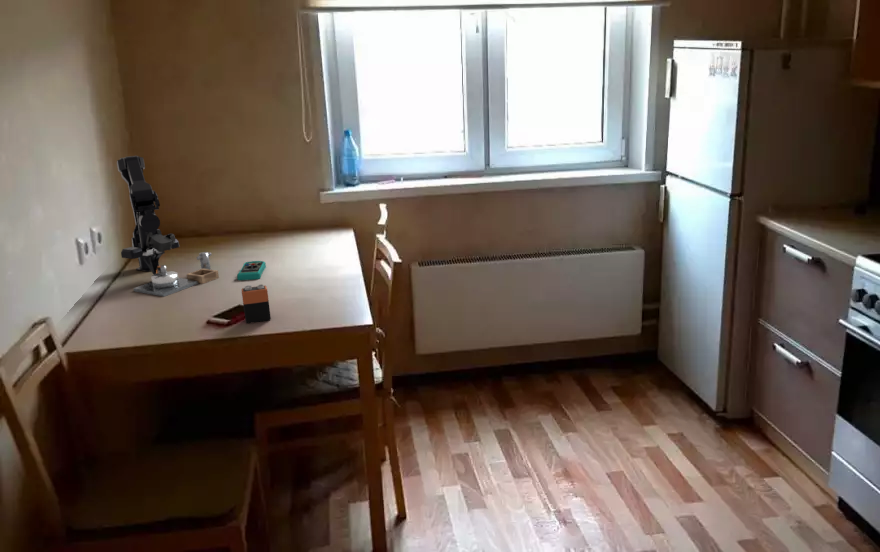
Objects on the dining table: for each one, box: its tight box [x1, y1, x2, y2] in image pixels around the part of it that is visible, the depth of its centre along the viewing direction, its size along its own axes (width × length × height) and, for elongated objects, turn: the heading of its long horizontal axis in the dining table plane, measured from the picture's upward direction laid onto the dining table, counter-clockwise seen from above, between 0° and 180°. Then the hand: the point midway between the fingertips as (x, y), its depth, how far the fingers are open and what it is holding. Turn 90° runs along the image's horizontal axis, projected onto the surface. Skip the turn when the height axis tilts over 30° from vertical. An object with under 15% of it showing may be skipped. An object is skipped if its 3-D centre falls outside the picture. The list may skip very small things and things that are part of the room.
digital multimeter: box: [236, 260, 267, 281], centre depth 261 cm, size 7×15×3 cm, turn 4°
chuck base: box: [133, 277, 199, 297], centre depth 250 cm, size 14×14×1 cm
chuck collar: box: [151, 264, 179, 288], centre depth 252 cm, size 16×8×6 cm, turn 29°
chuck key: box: [196, 251, 212, 270], centre depth 263 cm, size 3×6×7 cm, turn 149°
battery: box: [241, 284, 272, 324], centre depth 215 cm, size 4×7×10 cm, turn 106°
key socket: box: [186, 268, 220, 285], centre depth 256 cm, size 7×7×2 cm
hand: (154, 273), depth 256 cm, fingers closed
